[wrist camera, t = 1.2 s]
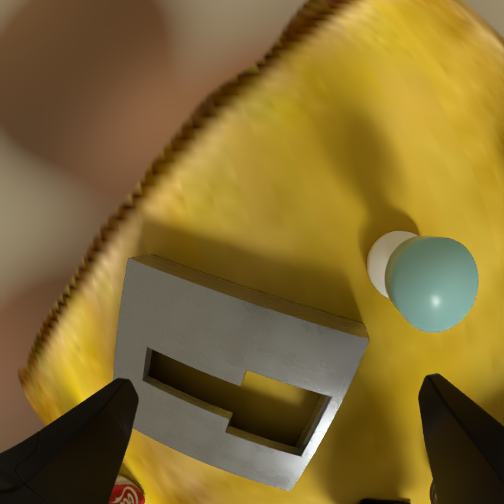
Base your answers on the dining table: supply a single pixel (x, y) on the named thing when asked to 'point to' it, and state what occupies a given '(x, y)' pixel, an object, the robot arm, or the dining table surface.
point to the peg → (424, 278)
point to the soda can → (126, 492)
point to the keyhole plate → (229, 363)
